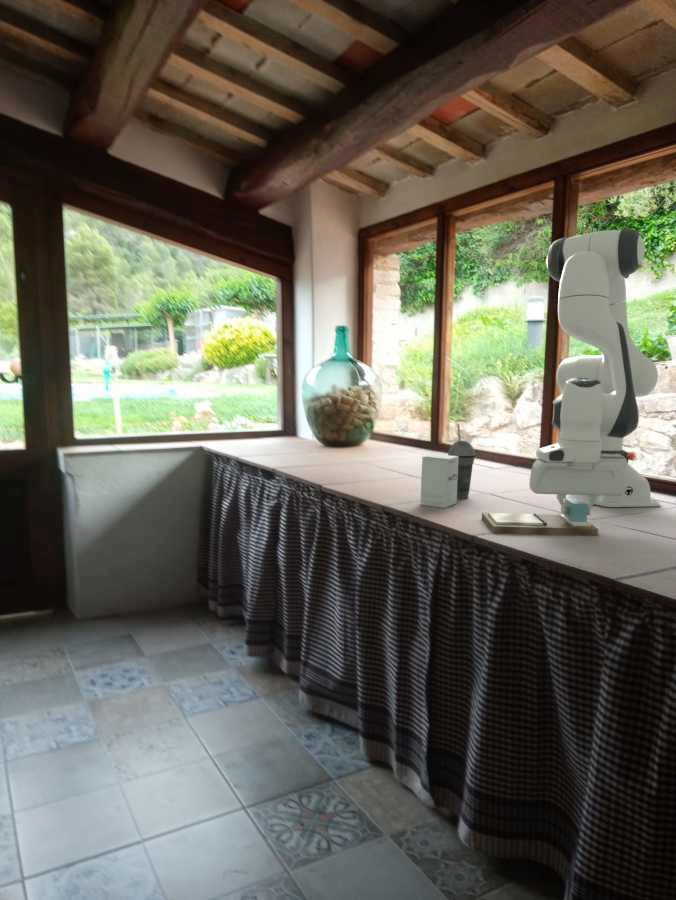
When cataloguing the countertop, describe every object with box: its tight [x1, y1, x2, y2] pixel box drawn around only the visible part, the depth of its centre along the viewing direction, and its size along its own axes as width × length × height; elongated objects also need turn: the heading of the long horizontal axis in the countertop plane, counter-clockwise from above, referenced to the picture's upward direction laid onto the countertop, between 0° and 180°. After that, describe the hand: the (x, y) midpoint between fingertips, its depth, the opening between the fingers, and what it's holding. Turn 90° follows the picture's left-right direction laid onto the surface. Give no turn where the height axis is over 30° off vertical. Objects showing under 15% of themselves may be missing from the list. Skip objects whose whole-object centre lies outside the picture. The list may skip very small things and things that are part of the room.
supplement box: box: [419, 453, 459, 509], centre depth 165 cm, size 7×7×13 cm
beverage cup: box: [447, 423, 476, 500], centre depth 175 cm, size 7×7×20 cm
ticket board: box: [481, 512, 599, 537], centre depth 143 cm, size 22×13×2 cm, turn 88°
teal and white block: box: [559, 498, 592, 526], centre depth 143 cm, size 4×9×4 cm, turn 178°
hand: (575, 514), depth 143 cm, fingers closed on teal and white block, 3 cm apart
